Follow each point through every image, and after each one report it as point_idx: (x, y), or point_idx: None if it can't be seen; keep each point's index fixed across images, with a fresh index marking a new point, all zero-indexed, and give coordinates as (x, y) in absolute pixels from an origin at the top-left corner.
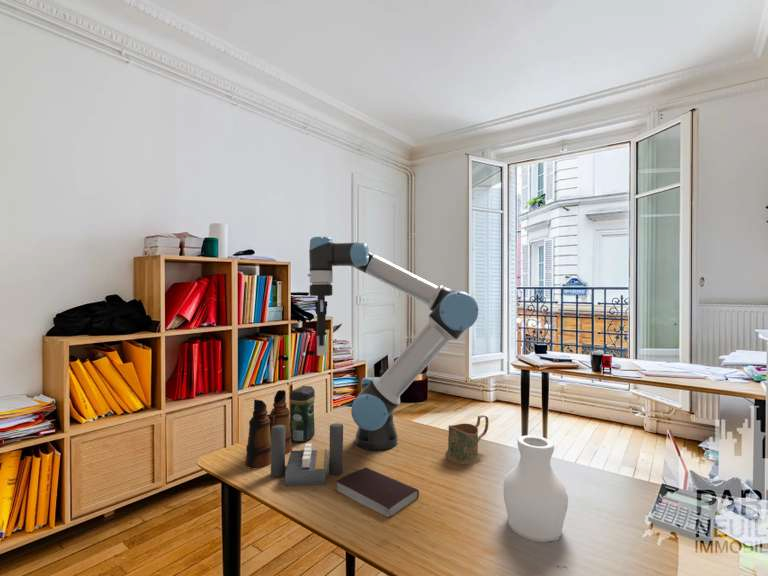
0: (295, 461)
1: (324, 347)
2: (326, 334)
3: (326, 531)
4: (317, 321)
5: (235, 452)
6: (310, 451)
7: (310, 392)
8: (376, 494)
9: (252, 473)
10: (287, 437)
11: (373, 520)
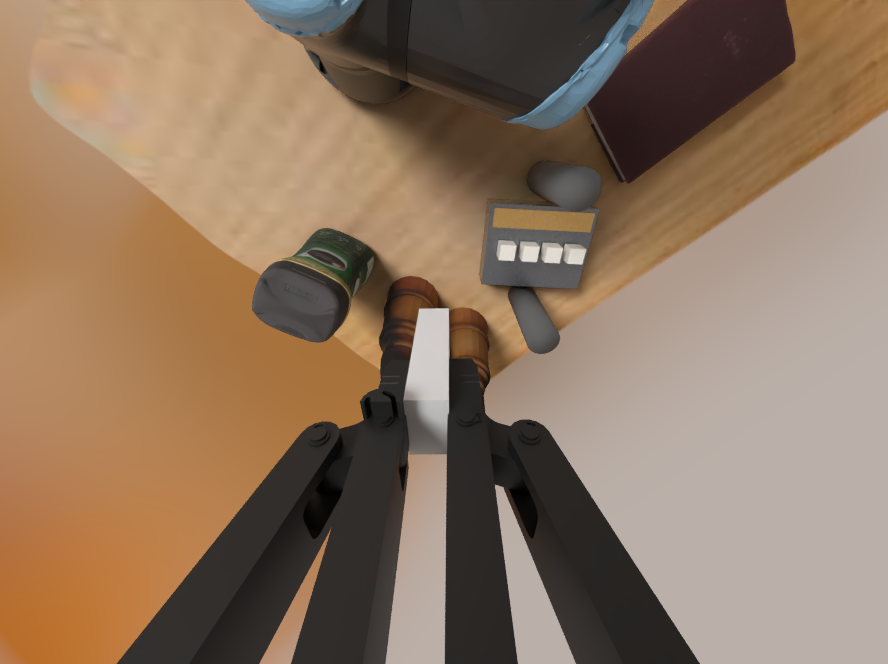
0: (537, 272)
1: (448, 341)
2: (394, 394)
3: (742, 205)
4: (390, 610)
5: None
6: (547, 247)
7: (311, 281)
8: (732, 86)
9: (504, 333)
10: (426, 298)
11: (764, 107)
